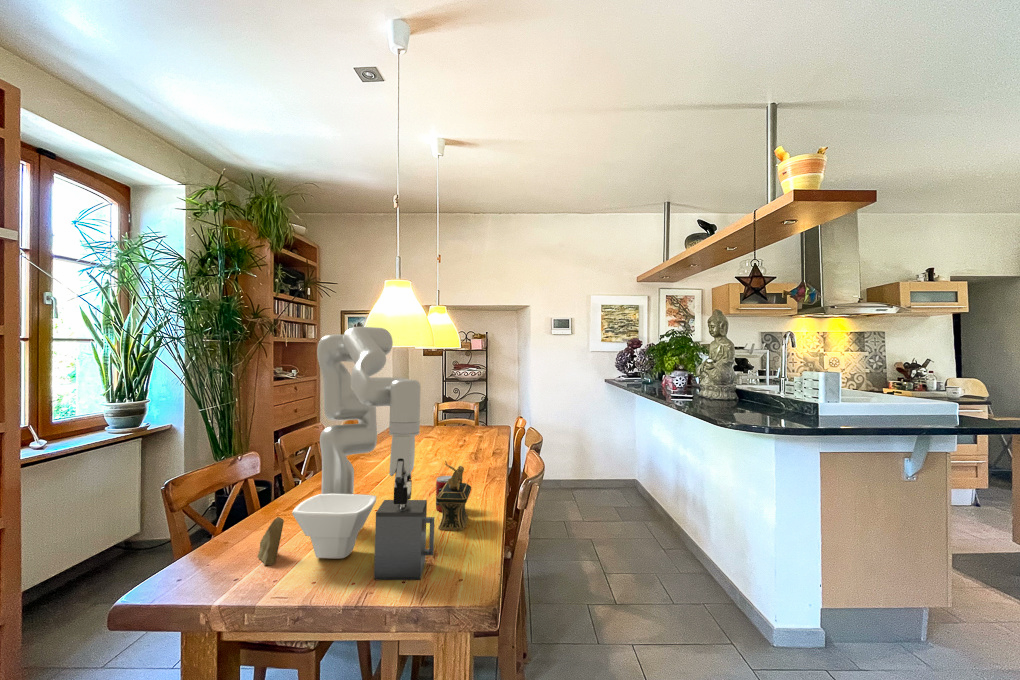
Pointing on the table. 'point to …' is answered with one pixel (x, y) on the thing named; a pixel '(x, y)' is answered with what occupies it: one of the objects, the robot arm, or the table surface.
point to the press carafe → (402, 540)
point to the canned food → (439, 485)
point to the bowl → (333, 521)
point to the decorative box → (454, 501)
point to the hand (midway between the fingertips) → (402, 499)
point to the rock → (271, 542)
